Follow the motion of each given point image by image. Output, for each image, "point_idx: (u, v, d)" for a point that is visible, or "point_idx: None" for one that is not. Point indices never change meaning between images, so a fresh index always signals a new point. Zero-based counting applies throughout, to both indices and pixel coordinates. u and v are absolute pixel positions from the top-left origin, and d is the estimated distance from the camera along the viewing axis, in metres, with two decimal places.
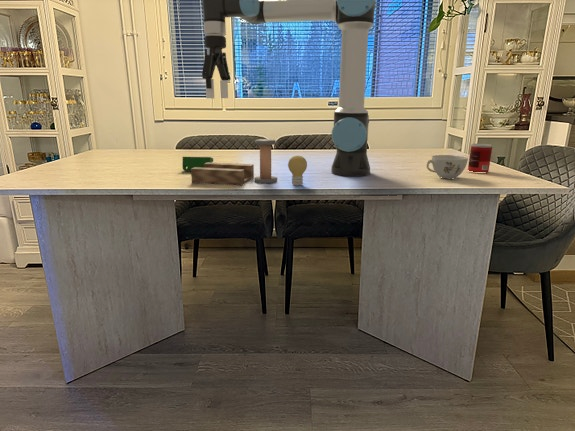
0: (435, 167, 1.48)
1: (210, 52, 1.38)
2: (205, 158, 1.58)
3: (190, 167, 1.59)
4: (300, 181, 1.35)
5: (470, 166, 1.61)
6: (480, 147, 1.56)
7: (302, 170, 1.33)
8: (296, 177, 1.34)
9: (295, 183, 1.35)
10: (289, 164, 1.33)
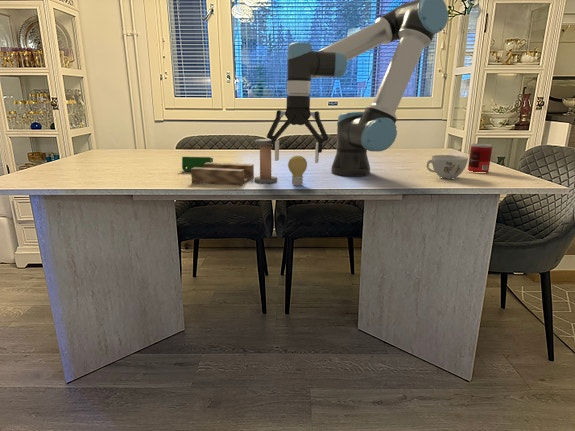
0: (435, 167, 1.48)
1: None
2: (204, 159, 1.58)
3: (190, 167, 1.58)
4: (300, 181, 1.35)
5: (470, 166, 1.61)
6: (480, 147, 1.56)
7: (302, 170, 1.33)
8: (296, 177, 1.34)
9: (295, 183, 1.35)
10: (289, 164, 1.33)
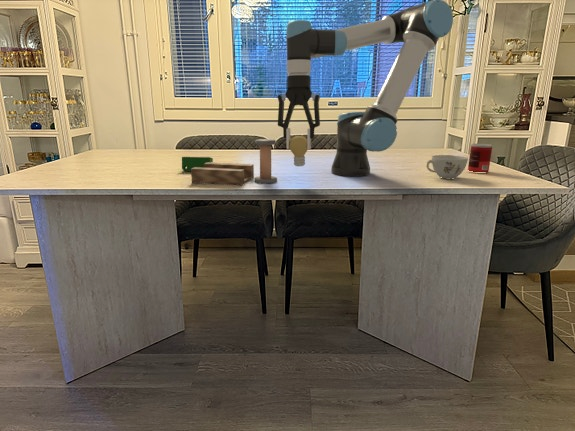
0: (435, 167, 1.48)
1: None
2: (204, 159, 1.58)
3: (190, 167, 1.58)
4: (302, 161, 1.33)
5: (470, 166, 1.61)
6: (480, 147, 1.56)
7: (304, 150, 1.32)
8: (298, 157, 1.33)
9: (297, 164, 1.33)
10: (290, 145, 1.32)
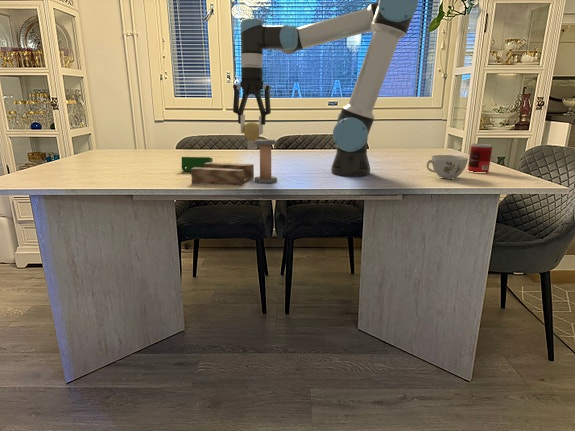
0: (435, 167, 1.48)
1: None
2: (204, 159, 1.58)
3: (189, 167, 1.58)
4: (254, 145, 1.49)
5: (470, 166, 1.61)
6: (480, 147, 1.56)
7: (255, 135, 1.47)
8: (250, 141, 1.48)
9: (250, 147, 1.49)
10: (244, 129, 1.47)
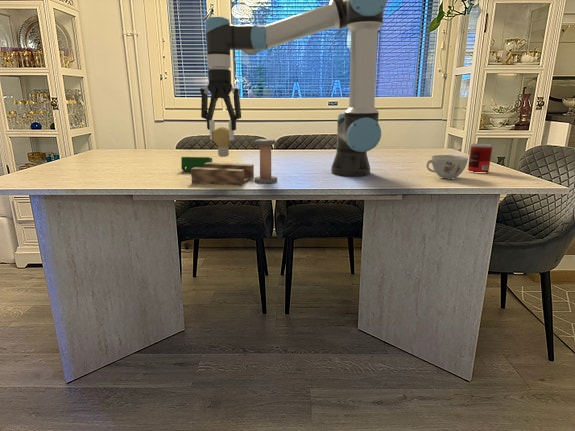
0: (435, 167, 1.48)
1: None
2: (204, 159, 1.58)
3: (189, 167, 1.58)
4: (225, 152, 1.39)
5: (470, 166, 1.61)
6: (480, 147, 1.56)
7: (226, 141, 1.37)
8: (221, 148, 1.39)
9: (220, 154, 1.39)
10: (213, 135, 1.38)
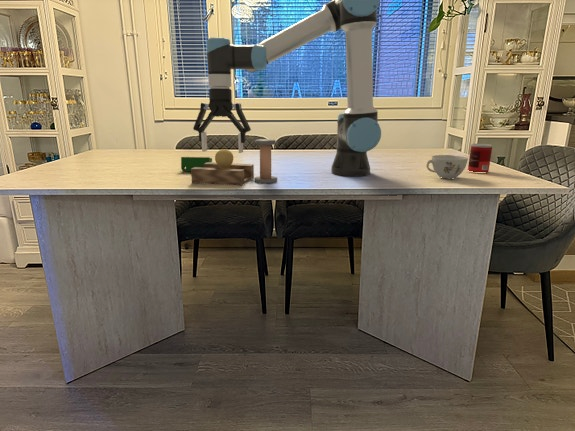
0: (435, 167, 1.48)
1: None
2: (204, 159, 1.57)
3: (189, 167, 1.58)
4: None
5: (470, 166, 1.61)
6: (480, 147, 1.56)
7: (228, 163, 1.40)
8: None
9: None
10: (215, 157, 1.40)
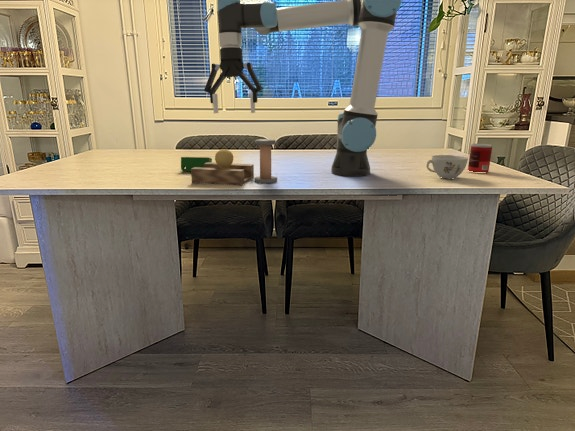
0: (435, 167, 1.48)
1: None
2: (203, 159, 1.57)
3: (189, 167, 1.58)
4: None
5: (470, 166, 1.61)
6: (480, 147, 1.56)
7: (228, 163, 1.40)
8: None
9: None
10: (215, 157, 1.40)
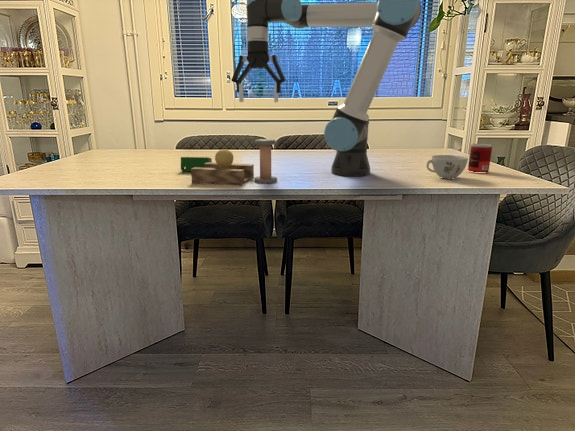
0: (435, 167, 1.48)
1: None
2: (203, 159, 1.57)
3: (188, 167, 1.58)
4: None
5: (470, 166, 1.61)
6: (480, 147, 1.56)
7: (228, 163, 1.40)
8: None
9: None
10: (215, 157, 1.40)
